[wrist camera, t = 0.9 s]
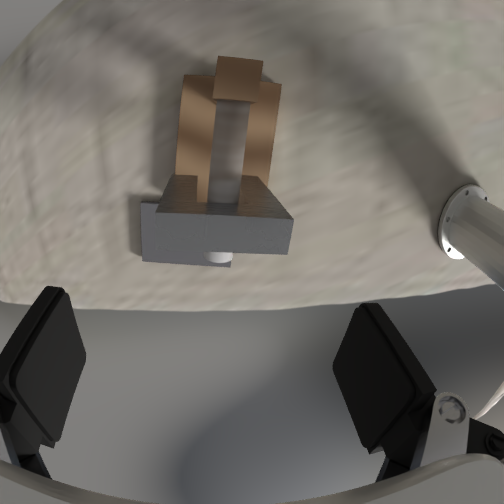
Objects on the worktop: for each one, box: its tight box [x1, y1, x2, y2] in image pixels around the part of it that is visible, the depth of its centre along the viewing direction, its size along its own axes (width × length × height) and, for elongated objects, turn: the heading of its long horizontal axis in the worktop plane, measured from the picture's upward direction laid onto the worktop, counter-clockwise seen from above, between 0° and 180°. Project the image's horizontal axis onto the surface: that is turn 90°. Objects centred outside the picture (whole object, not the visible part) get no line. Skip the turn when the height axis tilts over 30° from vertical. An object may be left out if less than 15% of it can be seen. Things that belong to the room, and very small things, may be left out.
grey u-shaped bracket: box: [155, 174, 294, 255], centre depth 21 cm, size 8×2×11 cm, turn 83°
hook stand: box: [175, 56, 282, 263], centre depth 23 cm, size 14×10×16 cm
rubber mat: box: [141, 202, 231, 267], centre depth 34 cm, size 11×8×1 cm
